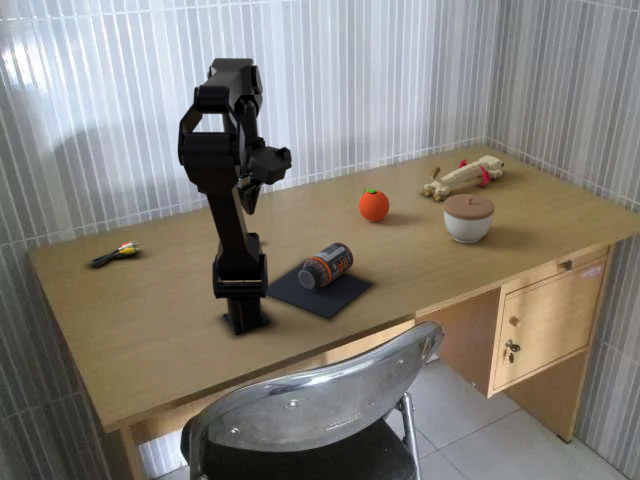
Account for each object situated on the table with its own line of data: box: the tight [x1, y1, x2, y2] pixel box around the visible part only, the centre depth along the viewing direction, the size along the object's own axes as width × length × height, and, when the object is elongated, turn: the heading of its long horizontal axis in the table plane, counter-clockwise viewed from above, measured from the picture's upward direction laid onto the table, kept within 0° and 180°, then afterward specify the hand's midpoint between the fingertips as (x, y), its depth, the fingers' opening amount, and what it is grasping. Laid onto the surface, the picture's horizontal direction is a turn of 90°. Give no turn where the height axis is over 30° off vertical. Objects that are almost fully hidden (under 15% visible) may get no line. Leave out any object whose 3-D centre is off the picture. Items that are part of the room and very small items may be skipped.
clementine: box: [358, 188, 390, 222], centre depth 153 cm, size 8×7×7 cm
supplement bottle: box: [298, 241, 354, 289], centre depth 130 cm, size 6×6×11 cm
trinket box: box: [443, 193, 495, 244], centre depth 145 cm, size 11×11×9 cm
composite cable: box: [89, 240, 141, 267], centre depth 137 cm, size 10×5×2 cm, turn 123°
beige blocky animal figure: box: [422, 155, 505, 202], centre depth 169 cm, size 10×9×25 cm
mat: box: [266, 260, 373, 320], centre depth 129 cm, size 14×16×1 cm
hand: (250, 214), depth 126 cm, fingers closed
